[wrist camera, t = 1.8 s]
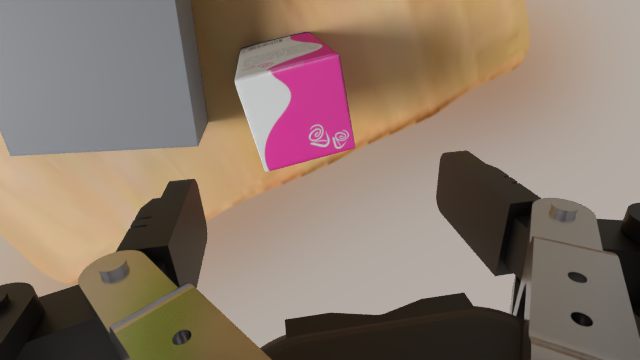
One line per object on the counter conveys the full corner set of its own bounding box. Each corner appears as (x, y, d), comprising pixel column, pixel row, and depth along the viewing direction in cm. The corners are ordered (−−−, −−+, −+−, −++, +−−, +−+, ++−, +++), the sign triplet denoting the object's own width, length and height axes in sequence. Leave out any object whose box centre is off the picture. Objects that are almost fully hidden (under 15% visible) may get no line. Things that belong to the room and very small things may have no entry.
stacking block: (-3, -47, 24) (-77, -59, 19) (185, -44, 26) (166, -55, 21) (55, 127, 30) (10, 156, 24) (208, 121, 31) (198, 146, 26)
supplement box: (260, 118, 31) (261, 175, 21) (239, 47, 29) (228, 74, 19) (326, 101, 32) (358, 150, 21) (311, 29, 29) (339, 46, 19)
